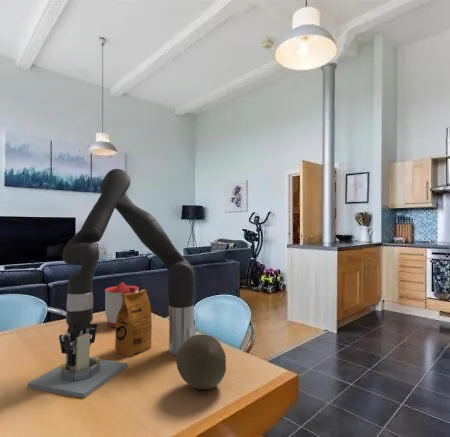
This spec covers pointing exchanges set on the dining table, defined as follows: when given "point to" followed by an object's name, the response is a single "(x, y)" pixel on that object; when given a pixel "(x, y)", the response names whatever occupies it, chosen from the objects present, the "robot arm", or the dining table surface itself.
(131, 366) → the dining table surface
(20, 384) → the dining table surface
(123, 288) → the citrus juicer
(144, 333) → the coffee package
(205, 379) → the dark grey round ball
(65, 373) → the collar
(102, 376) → the board
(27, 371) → the dining table surface
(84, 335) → the skincare box
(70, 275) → the robot arm
